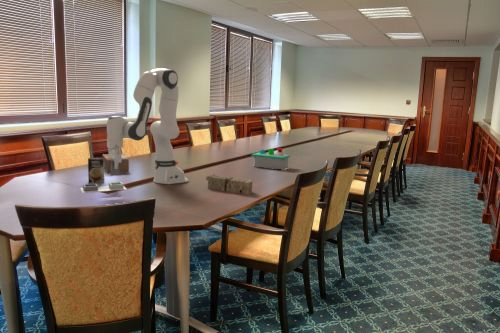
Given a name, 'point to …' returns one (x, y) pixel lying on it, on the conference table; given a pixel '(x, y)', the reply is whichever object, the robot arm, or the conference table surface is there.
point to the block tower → (229, 184)
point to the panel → (102, 187)
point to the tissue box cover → (122, 166)
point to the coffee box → (96, 170)
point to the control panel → (271, 159)
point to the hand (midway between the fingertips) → (115, 168)
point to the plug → (113, 170)
